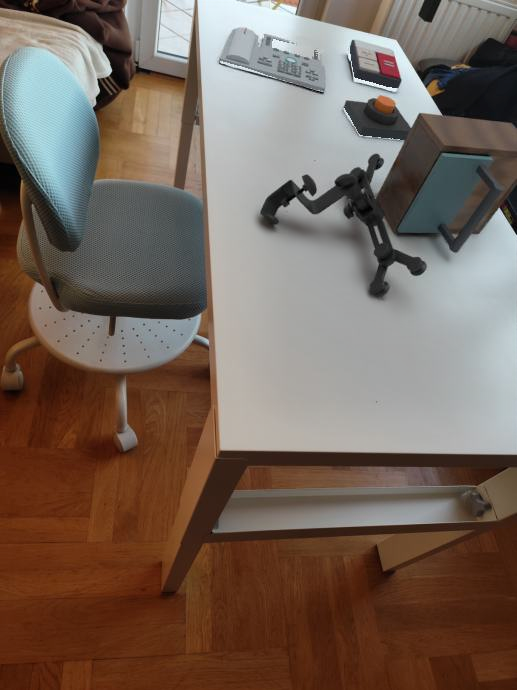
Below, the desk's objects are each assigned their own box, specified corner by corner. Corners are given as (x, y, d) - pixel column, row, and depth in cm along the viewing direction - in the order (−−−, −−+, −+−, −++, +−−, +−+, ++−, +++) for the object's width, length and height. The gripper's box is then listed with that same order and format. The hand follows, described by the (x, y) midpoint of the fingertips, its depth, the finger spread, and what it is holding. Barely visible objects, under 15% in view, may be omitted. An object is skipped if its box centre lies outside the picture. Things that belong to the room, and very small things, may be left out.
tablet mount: (328, 326, 74) (429, 270, 66) (268, 280, 65) (377, 209, 57) (303, 212, 90) (382, 156, 82) (253, 162, 81) (336, 93, 72)
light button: (387, 104, 101) (391, 96, 100) (395, 115, 99) (398, 107, 98) (370, 103, 100) (374, 94, 98) (378, 113, 98) (381, 105, 96)
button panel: (359, 66, 110) (353, 35, 118) (351, 84, 113) (346, 53, 122) (403, 78, 112) (394, 47, 120) (395, 96, 115) (387, 64, 124)
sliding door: (441, 230, 83) (491, 156, 72) (459, 257, 79) (514, 184, 68) (396, 229, 80) (441, 152, 69) (413, 257, 76) (463, 181, 65)
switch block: (390, 115, 107) (398, 97, 104) (409, 141, 101) (418, 123, 98) (342, 110, 103) (349, 91, 100) (359, 137, 98) (367, 118, 94)
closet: (457, 203, 91) (511, 122, 79) (479, 233, 86) (540, 153, 74) (374, 200, 85) (419, 112, 73) (393, 232, 80) (444, 145, 68)
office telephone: (220, 52, 100) (232, 17, 113) (218, 65, 102) (230, 29, 115) (327, 82, 103) (328, 45, 115) (323, 94, 105) (324, 56, 117)
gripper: (527, -162, 72) (445, 15, 91) (456, -187, 68) (385, 4, 86) (556, -150, 68) (464, 33, 86) (482, -176, 64) (402, 22, 82)
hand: (424, 18), depth 86 cm, fingers closed
